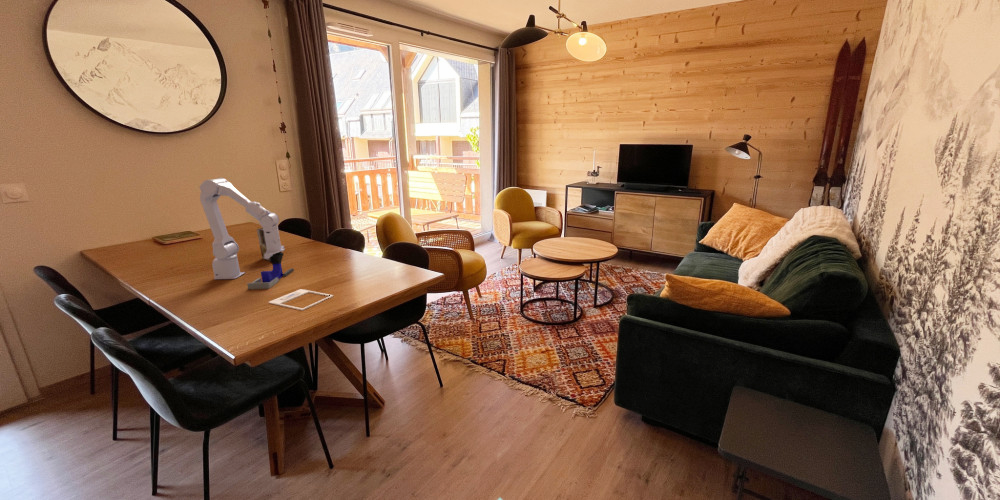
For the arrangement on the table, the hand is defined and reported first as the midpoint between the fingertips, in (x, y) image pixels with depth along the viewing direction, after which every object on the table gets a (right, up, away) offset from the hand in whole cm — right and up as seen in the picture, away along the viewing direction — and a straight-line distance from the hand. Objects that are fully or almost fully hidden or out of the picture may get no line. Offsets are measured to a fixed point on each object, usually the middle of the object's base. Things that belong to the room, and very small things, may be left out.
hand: (277, 269), depth 183 cm
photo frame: (+25, -11, -27) cm, 39 cm away
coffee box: (-18, +4, +27) cm, 33 cm away
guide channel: (0, -2, +3) cm, 3 cm away
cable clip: (+1, -5, -6) cm, 8 cm away
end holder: (+1, -6, -12) cm, 13 cm away
